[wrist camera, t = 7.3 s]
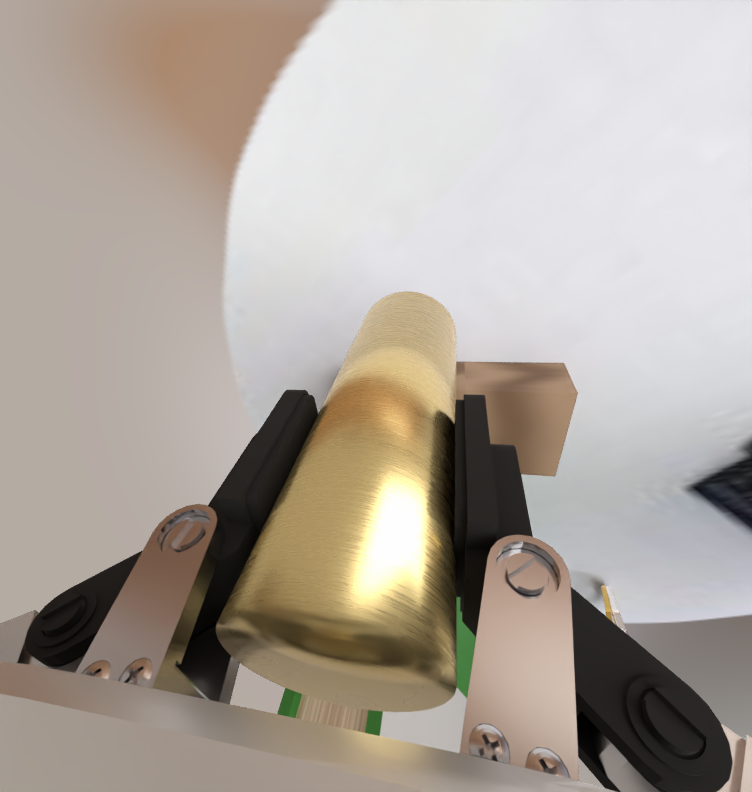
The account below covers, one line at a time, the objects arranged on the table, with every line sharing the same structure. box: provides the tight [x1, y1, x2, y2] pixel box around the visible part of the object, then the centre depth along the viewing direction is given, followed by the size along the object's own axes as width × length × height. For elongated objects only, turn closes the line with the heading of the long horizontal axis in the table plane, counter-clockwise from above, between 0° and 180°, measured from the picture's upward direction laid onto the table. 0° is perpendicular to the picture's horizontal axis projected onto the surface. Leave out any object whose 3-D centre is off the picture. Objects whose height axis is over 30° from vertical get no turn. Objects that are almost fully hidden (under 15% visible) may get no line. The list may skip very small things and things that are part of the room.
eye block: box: [456, 362, 578, 476], centre depth 30 cm, size 16×8×4 cm, turn 95°
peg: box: [216, 292, 457, 712], centre depth 11 cm, size 4×4×12 cm
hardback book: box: [278, 597, 476, 753], centre depth 32 cm, size 18×7×24 cm, turn 28°
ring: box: [600, 585, 628, 634], centre depth 40 cm, size 7×3×8 cm, turn 22°
